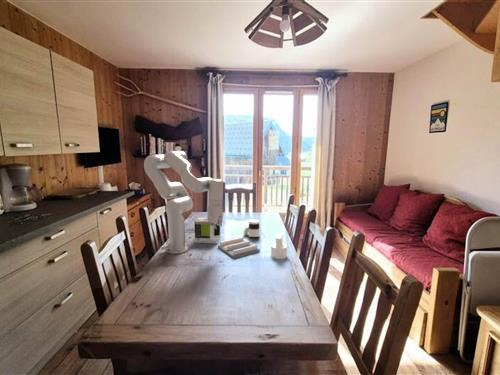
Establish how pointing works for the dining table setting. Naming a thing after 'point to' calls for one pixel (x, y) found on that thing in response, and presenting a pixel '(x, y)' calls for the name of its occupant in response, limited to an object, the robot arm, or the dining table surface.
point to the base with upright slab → (279, 248)
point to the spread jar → (253, 229)
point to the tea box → (203, 231)
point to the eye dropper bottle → (213, 233)
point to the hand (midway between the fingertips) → (215, 234)
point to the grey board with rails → (238, 247)
